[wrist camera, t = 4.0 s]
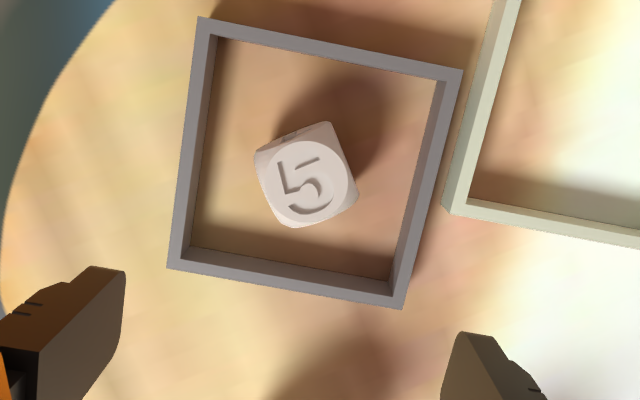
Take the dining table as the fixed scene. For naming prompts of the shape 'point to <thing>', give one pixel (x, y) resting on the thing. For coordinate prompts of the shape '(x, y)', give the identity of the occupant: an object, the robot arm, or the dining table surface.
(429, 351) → the dining table surface
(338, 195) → the die
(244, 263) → the gray frame
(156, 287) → the dining table surface
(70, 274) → the dining table surface
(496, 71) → the sage frame
